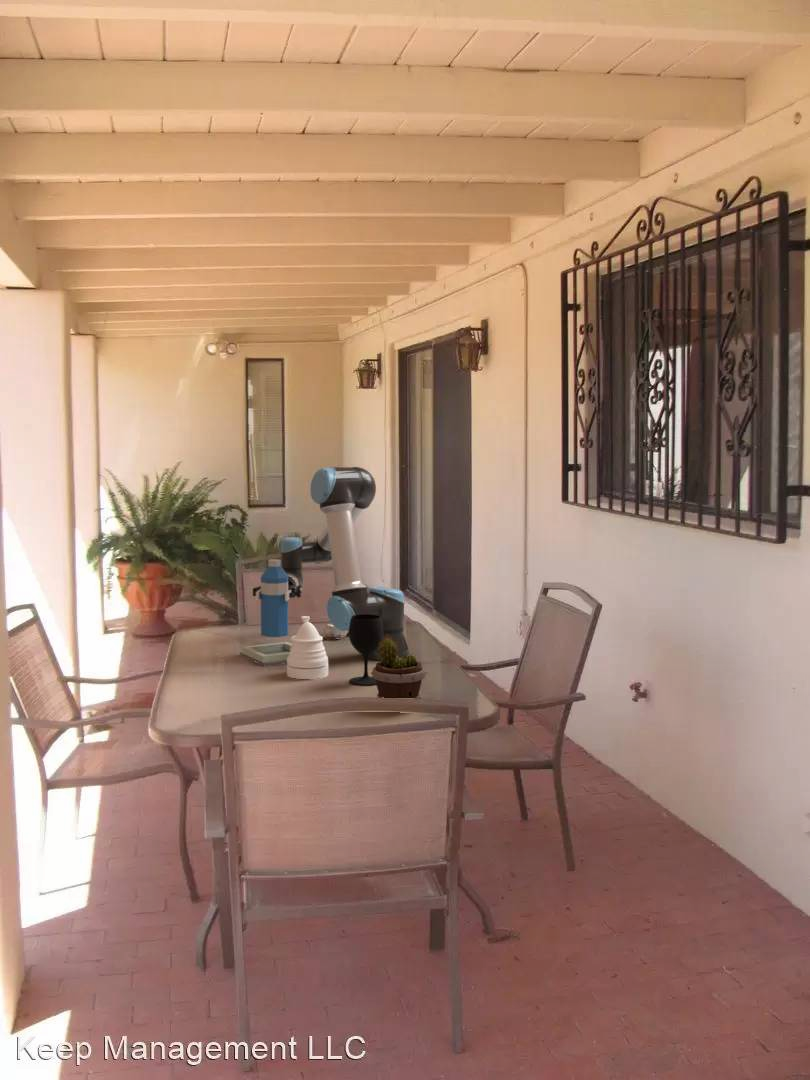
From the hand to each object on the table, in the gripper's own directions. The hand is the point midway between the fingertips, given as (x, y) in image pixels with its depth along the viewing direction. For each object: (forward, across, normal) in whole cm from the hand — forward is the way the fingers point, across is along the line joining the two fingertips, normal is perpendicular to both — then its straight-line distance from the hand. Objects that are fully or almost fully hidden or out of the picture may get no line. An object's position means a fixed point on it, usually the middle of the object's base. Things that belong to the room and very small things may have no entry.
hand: (271, 596), depth 341 cm
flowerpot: (+51, -47, -21) cm, 72 cm away
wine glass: (+25, -35, -21) cm, 48 cm away
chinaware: (-43, -24, -22) cm, 54 cm away
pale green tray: (-4, 0, -21) cm, 22 cm away
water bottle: (-5, 0, -14) cm, 14 cm away
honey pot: (+18, -15, -21) cm, 32 cm away
